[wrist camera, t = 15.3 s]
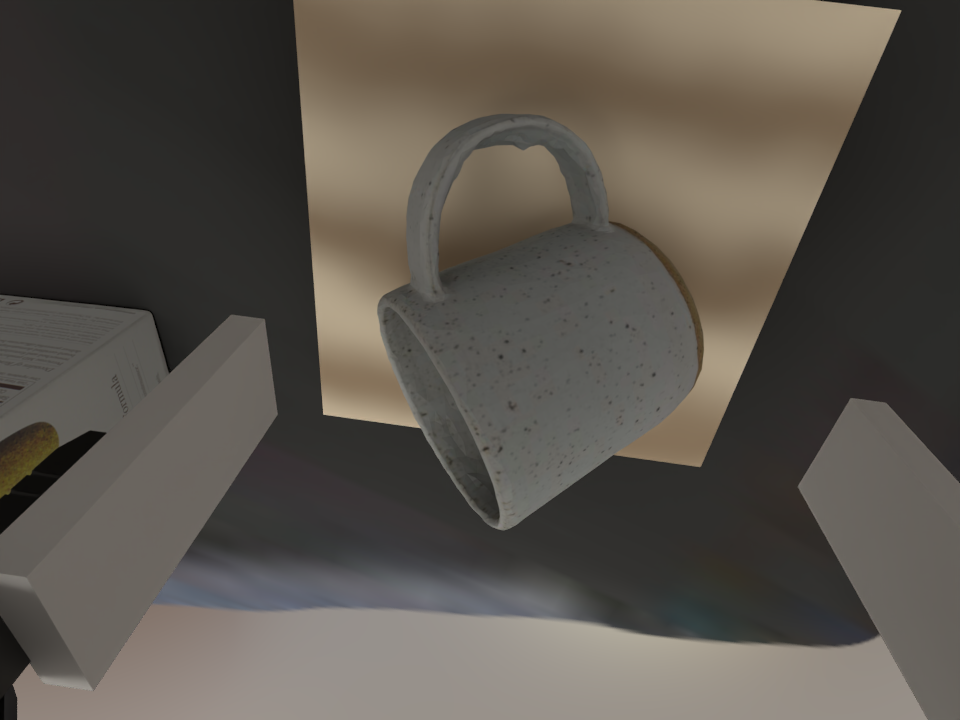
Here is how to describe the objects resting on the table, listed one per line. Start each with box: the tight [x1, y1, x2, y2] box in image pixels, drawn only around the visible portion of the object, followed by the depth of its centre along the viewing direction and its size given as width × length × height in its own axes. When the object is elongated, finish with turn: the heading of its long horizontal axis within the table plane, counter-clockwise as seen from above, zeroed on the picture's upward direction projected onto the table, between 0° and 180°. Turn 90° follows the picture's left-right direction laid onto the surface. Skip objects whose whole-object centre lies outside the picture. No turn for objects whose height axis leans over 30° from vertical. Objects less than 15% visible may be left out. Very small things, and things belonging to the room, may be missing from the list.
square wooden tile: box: [293, 0, 901, 467], centre depth 22 cm, size 18×18×3 cm
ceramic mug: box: [377, 114, 704, 530], centre depth 16 cm, size 11×8×8 cm
